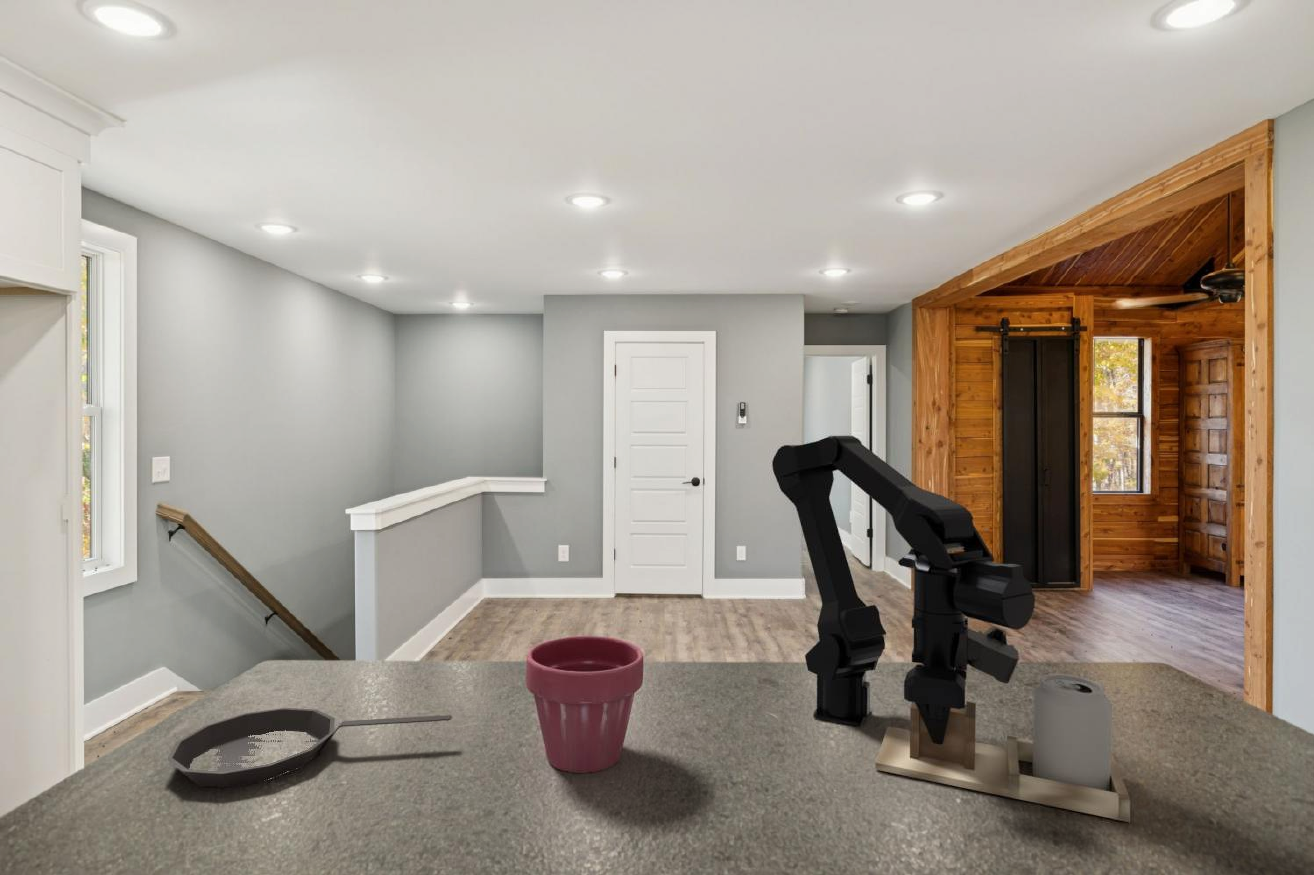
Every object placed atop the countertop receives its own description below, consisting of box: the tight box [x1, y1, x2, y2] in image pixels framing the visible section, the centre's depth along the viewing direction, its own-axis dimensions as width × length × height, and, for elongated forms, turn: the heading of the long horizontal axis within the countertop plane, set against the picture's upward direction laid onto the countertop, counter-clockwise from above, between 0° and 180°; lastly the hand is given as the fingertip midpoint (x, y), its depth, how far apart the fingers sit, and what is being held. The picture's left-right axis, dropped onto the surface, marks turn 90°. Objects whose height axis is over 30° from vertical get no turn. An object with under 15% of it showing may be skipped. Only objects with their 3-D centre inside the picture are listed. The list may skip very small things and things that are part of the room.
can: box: [1032, 673, 1113, 792], centre depth 78 cm, size 8×8×12 cm
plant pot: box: [525, 635, 644, 774], centre depth 86 cm, size 14×14×13 cm
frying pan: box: [166, 707, 453, 788], centre depth 86 cm, size 18×32×4 cm, turn 99°
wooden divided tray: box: [875, 701, 1131, 823], centre depth 81 cm, size 25×11×7 cm, turn 65°
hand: (938, 737), depth 84 cm, fingers closed on wooden divided tray, 3 cm apart
